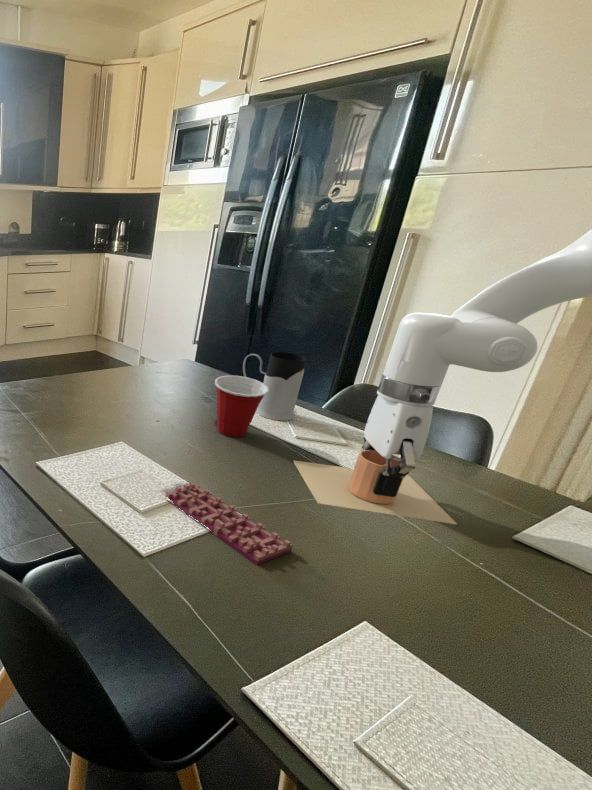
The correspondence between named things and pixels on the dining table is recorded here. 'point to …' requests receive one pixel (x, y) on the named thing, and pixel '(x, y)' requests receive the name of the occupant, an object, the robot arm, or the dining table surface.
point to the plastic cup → (237, 403)
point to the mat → (334, 491)
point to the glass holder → (280, 384)
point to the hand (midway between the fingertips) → (374, 482)
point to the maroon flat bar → (229, 524)
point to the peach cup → (369, 476)
